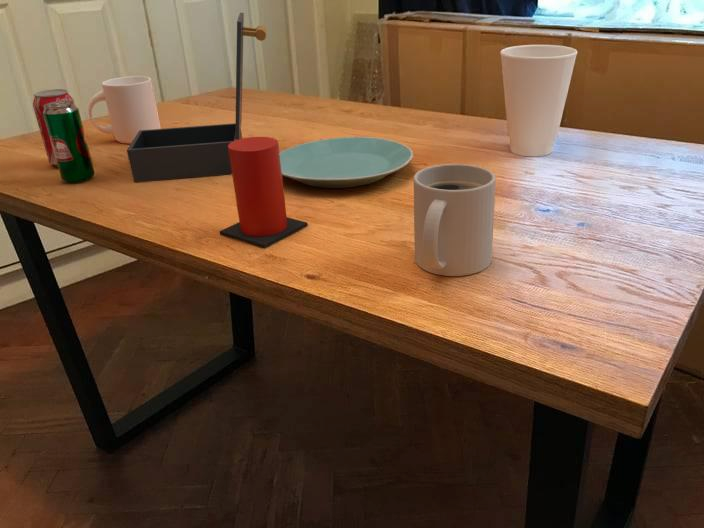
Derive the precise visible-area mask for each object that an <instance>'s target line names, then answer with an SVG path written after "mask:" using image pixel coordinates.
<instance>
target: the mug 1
mask: <svg viewBox="0 0 704 528" xmlns="http://www.w3.org/2000/svg"><path fill="white" fill-rule="evenodd" d="M101 86H102V89H101V90H99V91H98V92H96V93H95V94H94V95H93V96H92V98H91V99H90V101H89V103H88V108H87V109H88V115H89V119H90V121H91V123H92V125H93V127H95V128H96V129H97V130H98V131H99V132H101V133H104V134H108V135H113V136H114V139H115V140H116V141H117V142H119V143H121V144H128V145H131V143H132V141H133V140H134V138H135V137H136V135H137V134H138V132H139V131H140V130H152V129H162V127H161V122H160V117H159V113H158V107H157V102H156V96H155V92H154V87H153V82H152V78H151V77H149V76H147V75H146V76H145V75H129V76H119V77H113V78H110V79H106V80H104V81H102V82H101ZM102 101H105V103H106V108H107V112H108V115H109V116H108V117H109V120H110V123H109V124H107V125H101V124H99V123H97V122H96V121H95V120H94V118H93V114H92V113H93V112H92V111H93V108H94V107H95V105H96V104H97V103H99V102H102Z"/></svg>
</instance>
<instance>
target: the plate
mask: <svg viewBox="0 0 704 528" xmlns="http://www.w3.org/2000/svg"><path fill="white" fill-rule="evenodd" d="M279 154H280V163H281V172H282V177H286V178H289V179H292V180H294V181H298V182H300V183H302V184H305V185H308V186H313V187H318V188H327V189H328V188H329V189H336V188H337V189H338V188H340V189H342V188H343V189H344V188H353V187H354V188H355V187H361V186H365V185H370V184H372V183H375V182H377V181H378V182H379V181H381V180H382V179H384V178H385V177H387V176H389V175H391V174H393V173H395V172H397V171H399V170H401V169H403V168H404V167H406V166H408V164H409V163H410V162H411V161H412V160H413V158H414V152H413V150H412V149H411V148H410V147H409V146H408V145H406V144H404V143H401V142H398V141H396V140H391V139H388V138H381V137H373V136H341V137H340V136H339V137H332V138H324V139H318V140H312V141H308V142H304V143H300V144H296V145H293V146H290V147H288V148H286V149H283V150H282V151H279Z"/></svg>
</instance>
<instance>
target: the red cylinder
mask: <svg viewBox="0 0 704 528" xmlns="http://www.w3.org/2000/svg"><path fill="white" fill-rule="evenodd" d="M228 150H229V157H230V163H231V170H232V174H231V176H232V182H233V189H234V195H235V203H236V208H237V209H236V210H237V214H238V222H240V229H241V232H242V233H244V234H246V235H249V236H255V237H262V236H270V235H274V234H277V233H280V232H282V231H283V230H285V229H286V228H287V225H288V224H287V217H288V216H287V207H286V199H285V191H284V182H283V175H282V172H281V163H280V154H279V153H280V148H279V141H278V140H277V139H276V138H274V137H268V136H250V137H242V139H239V140H236V141H233V142H231V143H230V144H229V145H228Z"/></svg>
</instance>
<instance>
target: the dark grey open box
mask: <svg viewBox="0 0 704 528" xmlns="http://www.w3.org/2000/svg"><path fill="white" fill-rule="evenodd" d="M235 125H236V122H235V123H220V124H219V123H218V124H206V125H193V126H181V127H167V128H161V129H152V130H140V131H139V132H138V134H137V135H136V137H135V138H134V140H133V141H132V143H131V144H129V146H128V148H126V153H127V158H128V161H129V167H130V170H131V174H132V179H133V183H142V182H155V181H156V182H157V181H166V180H167V181H168V180H169V181H170V180H178V179H179V180H180V179H191V178H203V177H214V176H215V177H216V176H228V175H232V170H231V163H230V157H229V150H228V145H229V144H230V143H231V142H233V141H236V140H239V139H243V133H242V128H241V129H240V137H239V139H235Z"/></svg>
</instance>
